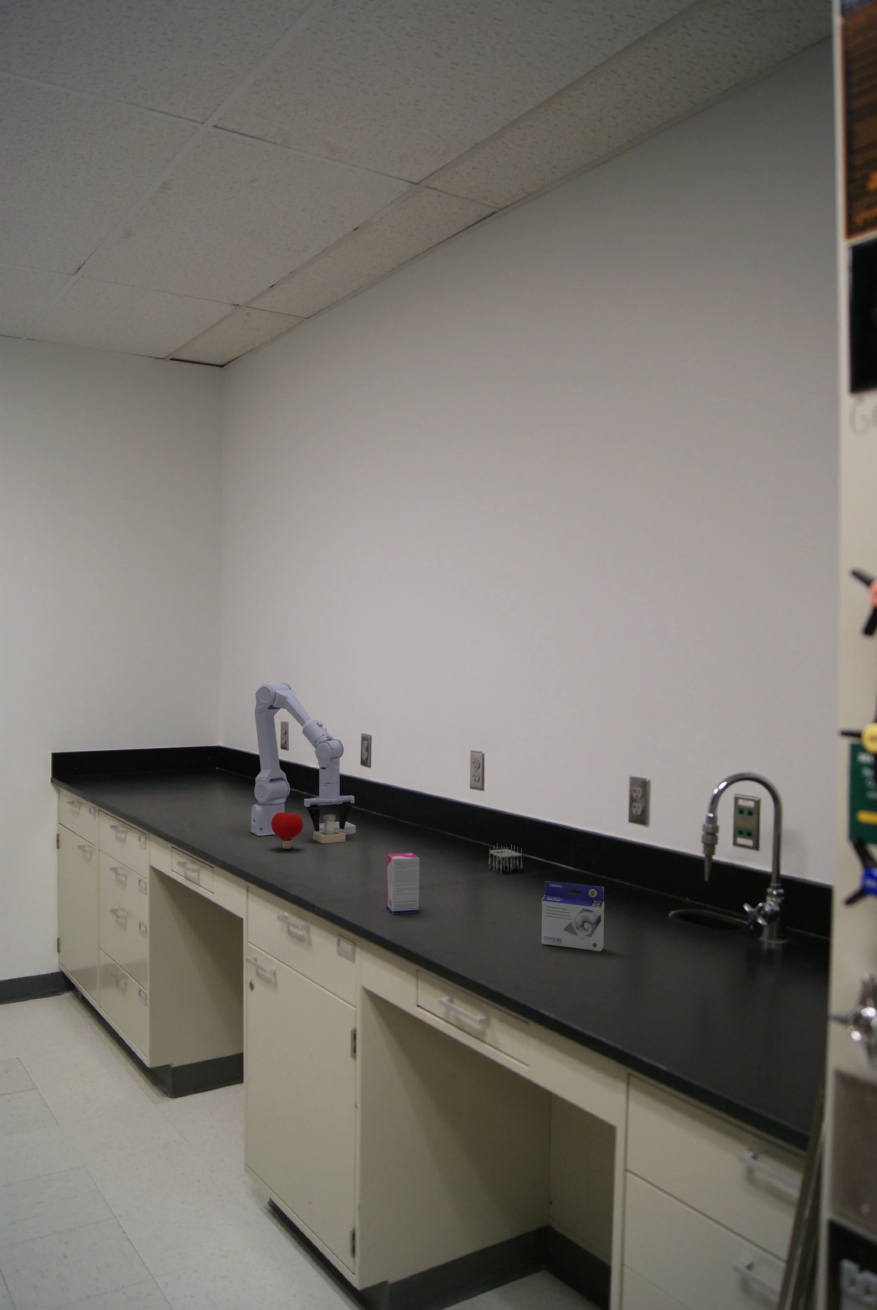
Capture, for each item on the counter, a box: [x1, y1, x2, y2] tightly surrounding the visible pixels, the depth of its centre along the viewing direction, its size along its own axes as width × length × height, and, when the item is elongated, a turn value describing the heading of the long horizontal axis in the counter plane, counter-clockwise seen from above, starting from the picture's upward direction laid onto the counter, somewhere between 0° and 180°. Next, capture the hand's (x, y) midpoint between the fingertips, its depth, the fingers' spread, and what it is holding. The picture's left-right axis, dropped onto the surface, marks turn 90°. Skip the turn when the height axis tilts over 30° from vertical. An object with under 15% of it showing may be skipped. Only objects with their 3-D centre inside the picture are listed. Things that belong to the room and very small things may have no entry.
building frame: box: [488, 843, 523, 875], centre depth 241 cm, size 6×8×6 cm
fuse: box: [323, 814, 336, 835], centre depth 277 cm, size 3×3×7 cm
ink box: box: [541, 880, 605, 952], centre depth 179 cm, size 12×2×12 cm, turn 69°
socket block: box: [312, 830, 346, 844], centre depth 277 cm, size 7×7×2 cm
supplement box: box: [386, 852, 420, 915], centre depth 204 cm, size 6×6×12 cm
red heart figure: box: [271, 811, 304, 851], centre depth 263 cm, size 9×7×10 cm
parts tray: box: [313, 821, 357, 836], centre depth 286 cm, size 10×8×2 cm
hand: (329, 829), depth 277 cm, fingers open, 7 cm apart
